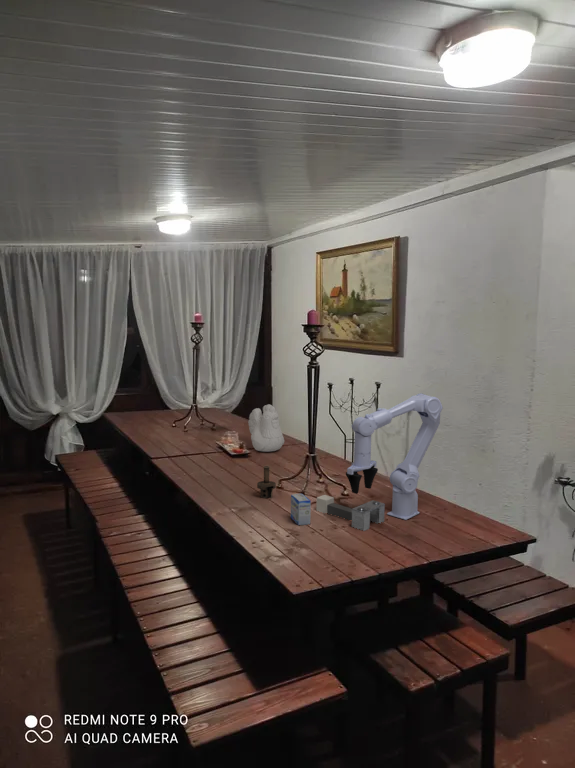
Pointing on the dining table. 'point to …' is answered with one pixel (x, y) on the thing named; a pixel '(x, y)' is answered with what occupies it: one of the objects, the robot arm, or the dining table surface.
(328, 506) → the plug
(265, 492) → the industrial component
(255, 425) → the white lumpy sculpture
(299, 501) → the medicine box
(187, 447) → the dining table surface
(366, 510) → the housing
